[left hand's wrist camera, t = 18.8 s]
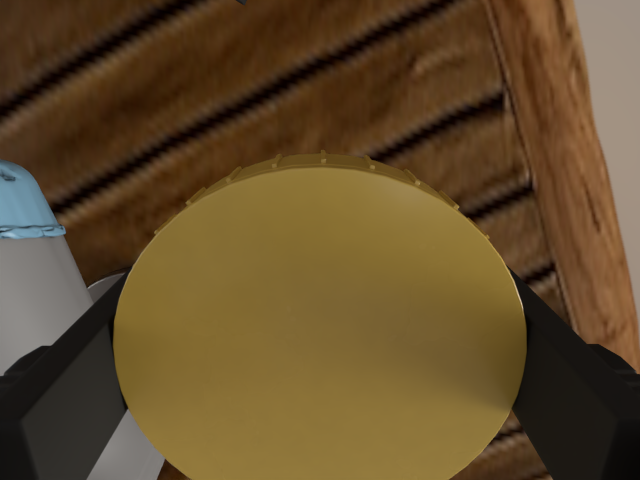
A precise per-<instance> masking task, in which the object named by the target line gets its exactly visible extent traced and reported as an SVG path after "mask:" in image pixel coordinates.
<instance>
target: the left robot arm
mask: <svg viewBox="0 0 640 480" xmlns="http://www.w3.org/2000/svg"><path fill="white" fill-rule="evenodd" d="M65 233H66V231H65V228H64V226H62V225H61V224H58V222H57V220H56V218H55V217H54V215H53V213H52V211H51V209H50V207H49V205H48V203H47V201H46V199H45V197H44V195H43V194H42V192H41V190H40V188H39V186H38V184H37V182H36V180H35V179H34V177H33V176H32V175H31V174H30V173H29V172H28V171H27V170H25V169H24V168H23V167H21V166H19V165H17V164H15V163H13V162H10V161H6V160H1V159H0V480H157V477H158V475H159V472H160V470H161V467H162V465H163V462H164V460H165V457H164V456H162V455H161V454H160V453H159V452H158V451H157V450H156V449H155V448H154V446H153V445H152V444H151V442H150V441H149V440H148V439H147V437H146V436H145V435H144V434H143V432H142V431H141V430H140V428H139V426H138V425H137V423H136V421H135V420H134V418H133V416H132V415H131V413H130V411H129V409H128V407H127V404H126V402H125V399H124V397H123V395H122V392H121V390H120V386H119V382H118V378H117V373H116V368H115V362H114V353H113V332H114V320H115V315H116V311H117V306H118V301H119V298H120V295H121V292H122V290H123V287H124V285H125V282H126V280H127V277H128V275H129V273H130V271H131V270H132V267H131V268H125V269H120V270H116V271H114V272H111V273H108V274H106V275H104V276H103V277H101V278H99V279H98V280H96V281H95V282H94V283H93V284H91V285H90V286H89V287H88V288H86V285H85V283H84V281H83V279H82V276H81V274H80V272H79V270H78V267H77V265H76V263H75V261H74V258H73V256H72V254H71V251H70V249H69V247H68V245H67V242H66V240H65V238H64V236H63V234H65ZM505 265H506V264H505ZM506 267H507V268H508V269H509V271H510V274H511V276H512V278H513V279H514V282H515V285H516V287H517V290H518V293H519V296H520V299H521V302H522V305H523V311H524V317H525V322H526V330H527V354H526V361H525V367H524V372H523V377H522V381H521V385H520V388H519V392H518V395H517V397H516V400H515V402H514V404H513V406H512V410H513V412H514V414H515V415H516V417H517V419H518V420H519V422H520V424H521V426H522V427H523V429H524V431H525V432H526V434H527V436H528V437H529V439H530V441H531V443H532V444H533V446H534V448H535V449H536V451H537V453H538V455H539V456H540V458H541V460H542V461H543V463H544V465H545V466H546V468H547V470H548V472H549V473H550V475H551V477H552V478H553V480H640V374H637V373H636V371H635V370H634V369H633V368H632V367H631V366H630V365H629V364H628V363H627V362H626V361H625V360H623V359H622V358H621V357H620V356H618V355H617V354H615V353H613V352H611V351H610V350H608V349H606V348H604V347H603V346H601V345H599V344H586V343H585V342H584V341H583V340H582V339H581V338H580V337H579V336H578V335H577V334H576V333H575V332H574V331H573V330H572V329H571V328H570V327H569V326H568V325H567V324H566V323H565V322H564V321H563V320H562V319H561V318H560V317H559V316H558V315H557V314H556V313H555V312H554V311H553V310H552V309H551V308H550V307H549V306H548V305H547V304H546V303H545V302H544V301H543V300H542V299H541V298H540V297H539V296H537V295H536V294H535V293H534V292H533V291H532V290H531V289H530V288H529V287H528V286H527V285H526V284H525V283H524V282H523V281H522V280H521V279H520V278H519V277H518V276H517V275H516V274H515V273H514V272H513V271H512V270H511V269H510V268H509V267H508V266H507V265H506Z"/></svg>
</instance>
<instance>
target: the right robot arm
mask: <svg viewBox="0 0 640 480" xmlns="http://www.w3.org/2000/svg"><path fill="white" fill-rule="evenodd" d="M236 1H238V2H240V3H241V4H243V5H245V3H246V1H247V0H236Z"/></svg>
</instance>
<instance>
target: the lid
mask: <svg viewBox="0 0 640 480" xmlns="http://www.w3.org/2000/svg"><path fill="white" fill-rule="evenodd" d="M186 204H187V206H186V207H185V208H184V209H183V210H182V211H181V212H179V213H178V214H174V215H172V216H171V217H170V218H169V219H168V220H167V221H166V222H165V223H164V224H162V225H161V226H160V227H159V228H158V229H157V230H156V231H155V232H154V233H155V234H156V236H155V237H154V238H153V239H152V240H151V242H150V243H149V244H148V245H147V247H146V248H145V249H144V250H143V251H142V253H141V254H140V256H139V258H138V259H137V261H136V262H135V263H134V264H133V266H132V270H131V271H130V273H129V275H128V277H127V280H126V282H125V285H124V287H123V290H122V292H121V295H120V298H119V301H118V306H117V311H116V315H115V320H114V332H113V353H114V362H115V368H116V373H117V378H118V382H119V386H120V390H121V392H122V395H123V397H124V399H125V402H126V404H127V407H128V409H129V411H130V413H131V415H132V416H133V418H134V420H135V421H136V423H137V425H138V426H139V428H140V430H141V431H142V432H143V434H144V435H145V436H146V437H147V439H148V440H149V441H150V442H151V444H152V445H153V446H154V448H155V449H156V450H157V451H158V452H159V453H160V454H161V455H162V456H164V457H165V458H166V459H167V460H168V461H169V462H170V463H171V464H172V465H173V466H174V467H176V468H177V469H178V470H180V471H181V472H182V473H183V474H185V475H186V476H187V477H189V478H190V479H192V480H448V479H450V478H451V477H452V476H454V475H455V474H456V473H458V472H459V471H461V470H462V469H463V468H465V467H466V466H467V465H468V464H469V463H470V462H471V461H472V460H473V459H474V458H475V457H477V456H478V455H479V454H480V453H481V452H482V451H483V450H484V448H485V447H486V446H487V445H488V444H489V442H490V441H491V440H492V439H493V438H494V436H495V435H496V434H497V432H498V431H499V429H500V428H501V426H502V424H503V423H504V421H505V420H506V418H507V417H508V415H509V413H510V410H511V408H512V406H513V404H514V402H515V400H516V397H517V395H518V392H519V388H520V385H521V381H522V377H523V372H524V367H525V361H526V354H527V330H526V322H525V317H524V311H523V305H522V302H521V299H520V296H519V293H518V290H517V287H516V285H515V282H514V279H513V278H512V276H511V274H510V271H509V269H508V268H507V267H506V265H505V263H504V261H503V259H502V257H501V256H500V255H499V254H498V252H497V251H496V250H495V248H494V247H493V246H492V244H491V243H490V242H489V240H488V239H489V236H488V235H487V234H486V233H485V232H484V231H483V230H482V229H481V228H479V227H478V226H477V225H476V224H475V223H474V222H473V221H472V220H471V219H470V218H466V217H465V216H464V215H463V214H461V213H460V212H459V211H458V210H457V209H458V208H459V206H458V205H457V204H456V203H455V202H454V201H452V200H451V199H450V198H449V197H448V196H447V195H446V194H445V193H443V192H442V191H441V190H440V191H439V192H436V191H435V190H434V189H432V188H431V187H429V186H428V185H427V184H425V183H424V182H422V181H420V180H418V179H417V178H416V177H415V176H414V175H413V174H412V173H411V172H410V171H409V170H407V169H405V170H404V172H403V171H401V170H399V169H396V168H393V167H391V166H388V165H385V164H382V163H380V162H377V161H373V160H371V159H370V158H369V156H367V155H364V158H359V157H354V156H350V155H338V154H325V150H321V153H319V154H300V155H292V156H286V157H282V154H278V155H277V156H276V158H275V159H270V160H267V161H264V162H261V163H258V164H255V165H252V166H249V167H246V168H243V169H241V167H237V168H236V169H235V170H234V171H233V172H232V173H231V174H230V175H229V176H227V177H225V178H223V179H221V180H220V181H218V182H217V183H215V184H214V185H212V186H211V187H209V188H208V189H206V188H205V187H203V188H201V189H200V190H199V191H198V192H197V193H196V194H195V195H194V196H192V197H191V198H190V199H189V200H188V201H187V202H186Z"/></svg>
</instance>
